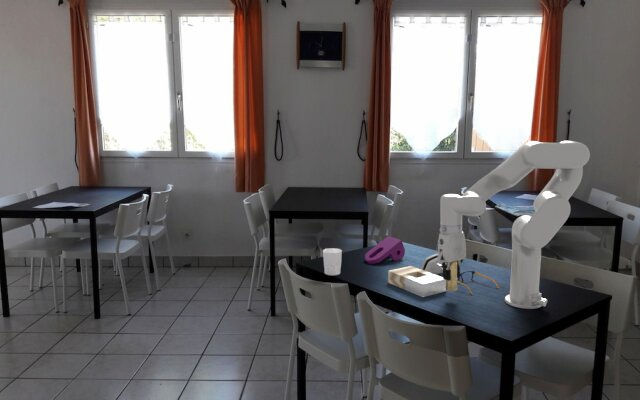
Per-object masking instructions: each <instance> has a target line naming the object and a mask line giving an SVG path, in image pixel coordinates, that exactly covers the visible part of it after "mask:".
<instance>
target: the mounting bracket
mask: <svg viewBox="0 0 640 400" xmlns="http://www.w3.org/2000/svg"><path fill="white" fill-rule="evenodd" d="M405 252H406V249H405V246H404V243H403V241H402V239H399V238H395V237H393V236H390V235H389V236H386V237H385V238H384V239H382V240H381V241H380V242H378V243H377V244H376V245H375V246H373V247H372V248H371V249H370V250H368V251H367V252H366V253H365V255H364V259H365V261H366V262H367V264H372V265H375V264H378V263H380V262H382V261H383V260H385V259H386V258H390V260H392V261H396V262H398V261H402V259H403V258H404V256H405V254H406V253H405Z"/></svg>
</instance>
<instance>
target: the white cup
mask: <svg viewBox="0 0 640 400" xmlns="http://www.w3.org/2000/svg"><path fill="white" fill-rule="evenodd" d="M342 251H343V250H342V249H341V248H334V247H333V248H332V247H331V248H325V249H322V255H323V267H324V268H323V269H324V274H325V275H327V276H339V275H340V274H341V269H342V268H341V267H342V254H343V253H342Z"/></svg>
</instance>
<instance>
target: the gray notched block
mask: <svg viewBox="0 0 640 400" xmlns="http://www.w3.org/2000/svg"><path fill="white" fill-rule="evenodd" d="M405 291H407V292H409V293H411V294H414V295H417V296H419V297H421V298H425V297H429V296H433V295H437V294H441V293H444V292H447V290H446V280H445V279H443V276H440V275H439V274H436V275H435V274H432V273H429V272H426V273H422V277H418V278H415V277H412V276H408V277H405Z"/></svg>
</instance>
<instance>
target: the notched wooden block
mask: <svg viewBox="0 0 640 400" xmlns="http://www.w3.org/2000/svg"><path fill="white" fill-rule="evenodd" d="M387 272H388V276H387V284H390V285H392V286H395V287H396V288H400V289H402V290H405V277H408V276H412V277H415V278H418V277H422V273H426V272H427V271H424V270H421V268H418V267H416V266H412V265H408V266H405V267H400V268H394V269H390V270H388V271H387ZM405 291H406V290H405Z"/></svg>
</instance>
